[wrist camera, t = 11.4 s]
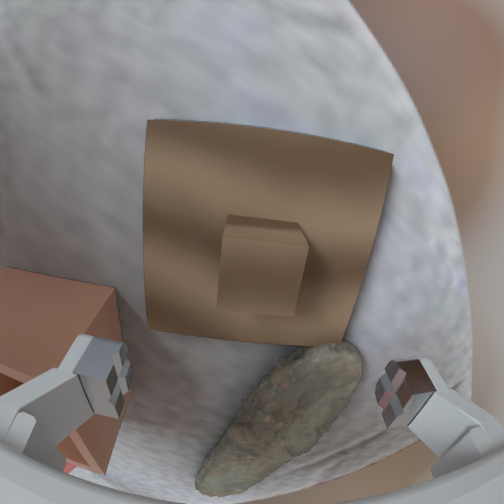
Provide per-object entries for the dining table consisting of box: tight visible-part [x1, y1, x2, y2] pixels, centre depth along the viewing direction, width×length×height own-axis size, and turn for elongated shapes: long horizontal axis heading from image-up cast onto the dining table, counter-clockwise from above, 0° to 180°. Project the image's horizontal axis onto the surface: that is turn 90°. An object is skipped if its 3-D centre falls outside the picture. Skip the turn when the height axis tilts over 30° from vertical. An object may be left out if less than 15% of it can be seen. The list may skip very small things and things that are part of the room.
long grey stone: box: [195, 340, 363, 497], centre depth 27 cm, size 35×5×10 cm
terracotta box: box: [0, 267, 133, 475], centre depth 18 cm, size 12×12×10 cm
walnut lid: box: [143, 120, 394, 346], centre depth 17 cm, size 14×14×4 cm
